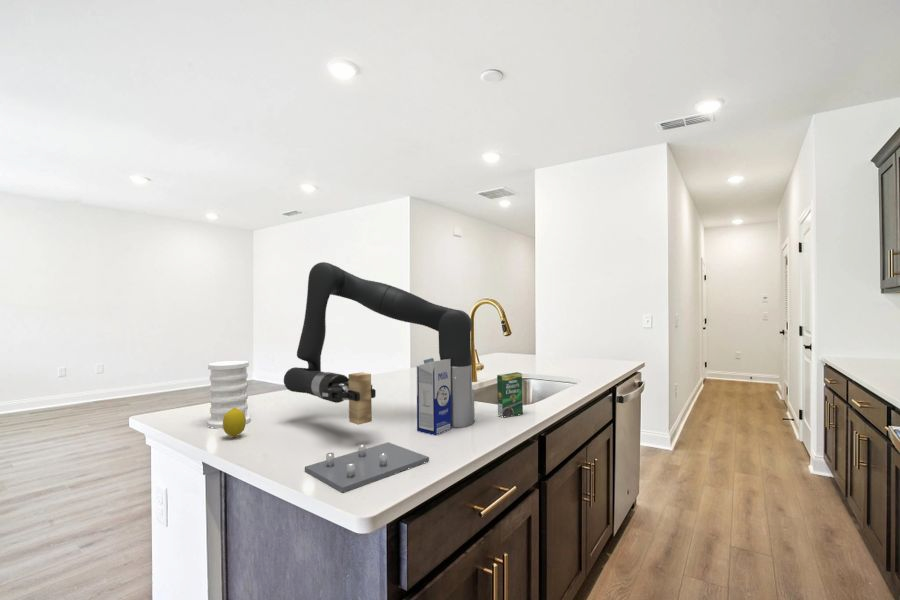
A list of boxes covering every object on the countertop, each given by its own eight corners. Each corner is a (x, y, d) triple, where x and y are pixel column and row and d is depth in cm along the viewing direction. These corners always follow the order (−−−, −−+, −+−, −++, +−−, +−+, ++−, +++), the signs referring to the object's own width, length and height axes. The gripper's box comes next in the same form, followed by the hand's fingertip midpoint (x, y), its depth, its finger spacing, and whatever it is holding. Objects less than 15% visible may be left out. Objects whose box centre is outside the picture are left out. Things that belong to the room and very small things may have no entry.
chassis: (388, 446, 108) (388, 432, 108) (429, 461, 97) (429, 445, 97) (304, 471, 92) (304, 454, 92) (342, 492, 81) (342, 474, 81)
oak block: (362, 418, 112) (361, 372, 112) (371, 421, 109) (370, 373, 109) (349, 421, 109) (348, 374, 109) (358, 424, 107) (357, 376, 107)
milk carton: (435, 435, 116) (434, 360, 116) (416, 431, 120) (416, 358, 120) (451, 429, 122) (450, 357, 122) (432, 425, 126) (432, 356, 126)
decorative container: (228, 430, 122) (228, 366, 122) (197, 426, 126) (197, 364, 126) (259, 419, 133) (258, 360, 133) (229, 416, 137) (229, 359, 137)
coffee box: (502, 418, 133) (501, 375, 133) (496, 416, 135) (496, 374, 135) (523, 414, 136) (523, 373, 136) (517, 412, 139) (517, 371, 139)
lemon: (240, 433, 119) (239, 404, 120) (249, 437, 116) (249, 407, 116) (219, 438, 115) (218, 408, 115) (228, 442, 112) (228, 411, 112)
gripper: (306, 376, 114) (341, 384, 102) (352, 369, 125) (389, 376, 112) (306, 404, 114) (341, 416, 102) (353, 395, 124) (389, 405, 112)
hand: (366, 395), depth 107 cm, fingers closed on oak block, 4 cm apart
